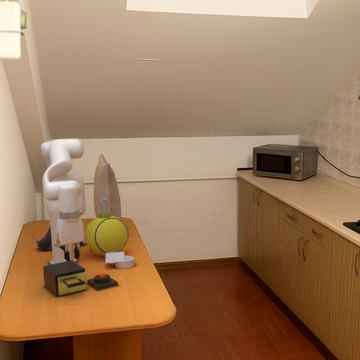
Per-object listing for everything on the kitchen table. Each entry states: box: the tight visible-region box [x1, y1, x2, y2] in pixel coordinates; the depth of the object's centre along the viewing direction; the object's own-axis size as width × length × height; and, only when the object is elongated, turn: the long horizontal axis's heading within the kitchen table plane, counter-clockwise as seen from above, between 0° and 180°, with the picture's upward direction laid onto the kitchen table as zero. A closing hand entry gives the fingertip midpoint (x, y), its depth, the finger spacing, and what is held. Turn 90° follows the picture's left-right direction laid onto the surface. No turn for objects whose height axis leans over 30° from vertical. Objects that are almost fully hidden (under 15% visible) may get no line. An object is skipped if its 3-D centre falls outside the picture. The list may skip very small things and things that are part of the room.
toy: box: [84, 197, 130, 258], centre depth 275 cm, size 23×22×30 cm
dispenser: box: [42, 260, 87, 297], centre depth 231 cm, size 15×13×9 cm
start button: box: [97, 271, 107, 278], centre depth 235 cm, size 4×4×2 cm
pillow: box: [93, 154, 122, 221], centre depth 317 cm, size 44×14×43 cm, turn 19°
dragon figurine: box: [34, 226, 86, 251], centre depth 290 cm, size 10×12×25 cm
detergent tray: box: [57, 271, 87, 296], centre depth 228 cm, size 18×11×7 cm, turn 38°
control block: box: [86, 273, 119, 291], centre depth 236 cm, size 11×9×4 cm
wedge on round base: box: [105, 251, 135, 270], centre depth 260 cm, size 9×7×13 cm
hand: (72, 259), depth 222 cm, fingers open, 3 cm apart
